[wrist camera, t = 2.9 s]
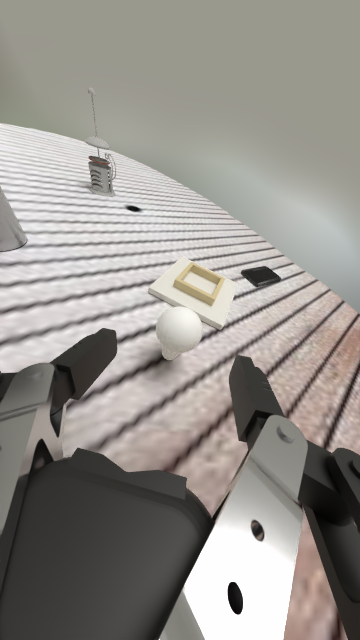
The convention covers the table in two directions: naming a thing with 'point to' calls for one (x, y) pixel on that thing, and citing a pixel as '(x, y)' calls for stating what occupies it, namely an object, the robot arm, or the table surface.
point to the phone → (260, 276)
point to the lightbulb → (178, 331)
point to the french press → (100, 165)
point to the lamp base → (196, 291)
